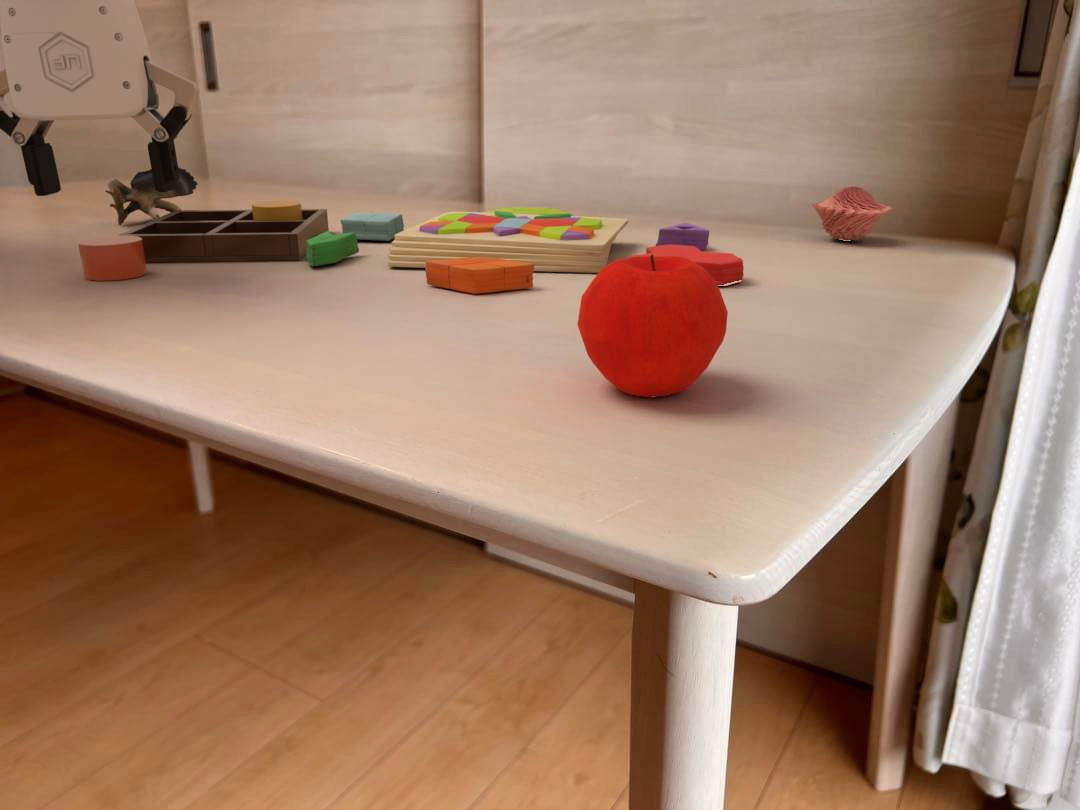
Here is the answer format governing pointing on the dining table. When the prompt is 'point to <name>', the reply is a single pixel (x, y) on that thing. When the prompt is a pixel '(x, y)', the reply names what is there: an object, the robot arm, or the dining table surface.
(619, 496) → the dining table surface
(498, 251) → the pattern blocks set
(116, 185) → the bracket fungus on branch
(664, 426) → the dining table surface
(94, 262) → the cylinder
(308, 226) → the grid
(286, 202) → the mustard yellow cylinder
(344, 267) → the dining table surface
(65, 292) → the dining table surface
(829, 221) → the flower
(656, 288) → the apple
